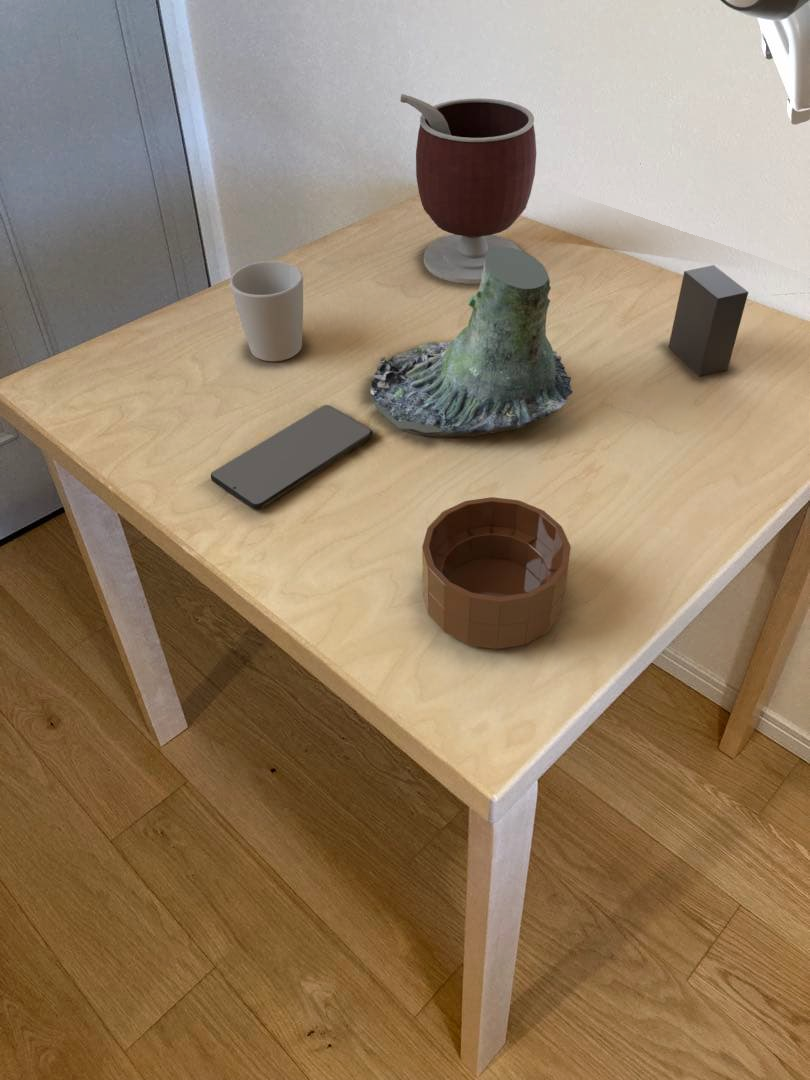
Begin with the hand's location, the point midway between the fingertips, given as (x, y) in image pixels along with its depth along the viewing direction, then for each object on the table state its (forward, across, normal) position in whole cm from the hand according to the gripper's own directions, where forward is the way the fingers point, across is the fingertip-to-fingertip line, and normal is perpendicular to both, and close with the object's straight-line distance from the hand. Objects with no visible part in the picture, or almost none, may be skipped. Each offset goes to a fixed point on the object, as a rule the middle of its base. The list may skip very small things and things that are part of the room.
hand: (786, 84), depth 83 cm
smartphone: (+2, -27, +51) cm, 57 cm away
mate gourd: (+19, +10, +35) cm, 41 cm away
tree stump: (+11, -18, +35) cm, 40 cm away
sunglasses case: (+20, -14, +12) cm, 26 cm away
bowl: (+2, -45, +33) cm, 56 cm away
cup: (+7, -7, +55) cm, 56 cm away
